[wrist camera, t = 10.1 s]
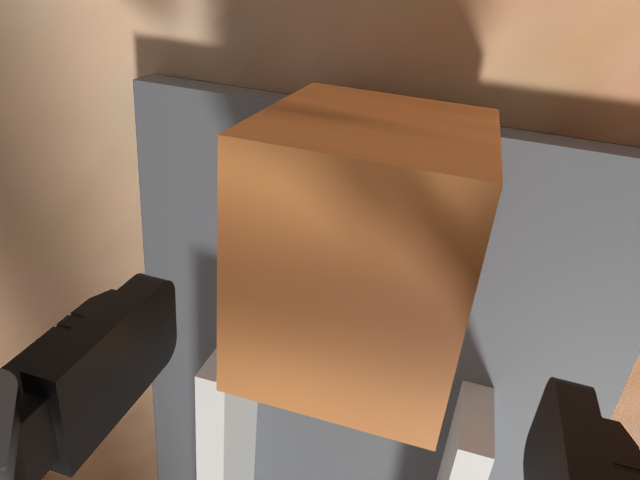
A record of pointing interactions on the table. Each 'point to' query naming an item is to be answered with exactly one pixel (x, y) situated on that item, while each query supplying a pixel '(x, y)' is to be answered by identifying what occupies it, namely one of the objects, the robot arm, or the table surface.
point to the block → (353, 254)
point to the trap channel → (483, 326)
